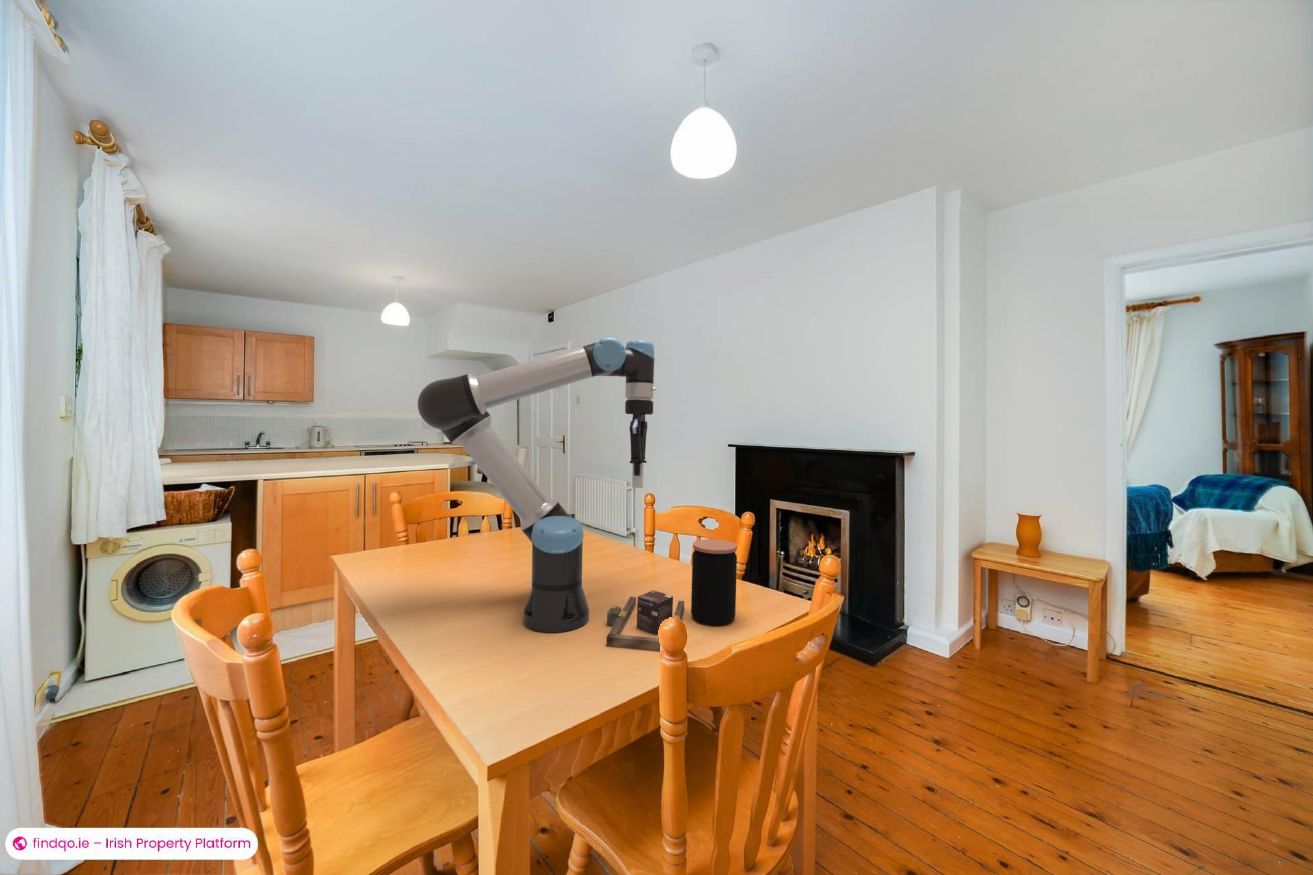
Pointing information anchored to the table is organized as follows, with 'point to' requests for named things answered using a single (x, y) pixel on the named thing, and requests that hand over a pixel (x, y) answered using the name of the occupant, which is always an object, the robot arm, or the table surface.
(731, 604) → the coffee jar
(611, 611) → the brown angular bar frame
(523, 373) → the robot arm
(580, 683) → the table surface
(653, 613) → the box
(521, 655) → the table surface
